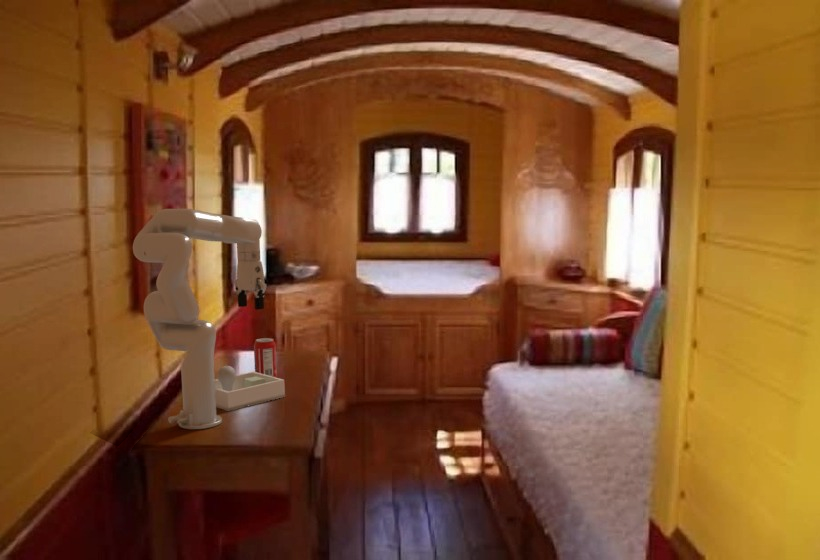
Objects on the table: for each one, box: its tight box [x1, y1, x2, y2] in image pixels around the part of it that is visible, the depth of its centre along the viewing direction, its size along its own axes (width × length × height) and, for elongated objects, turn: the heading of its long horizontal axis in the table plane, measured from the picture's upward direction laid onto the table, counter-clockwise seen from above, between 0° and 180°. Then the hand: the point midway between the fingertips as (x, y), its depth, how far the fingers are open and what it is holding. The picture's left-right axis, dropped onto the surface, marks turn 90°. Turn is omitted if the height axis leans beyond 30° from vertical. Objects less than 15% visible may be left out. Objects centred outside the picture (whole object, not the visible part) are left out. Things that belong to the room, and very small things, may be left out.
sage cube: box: [244, 376, 265, 388], centre depth 267 cm, size 5×5×5 cm
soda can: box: [253, 337, 278, 378], centre depth 289 cm, size 8×8×15 cm
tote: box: [215, 371, 286, 412], centre depth 263 cm, size 22×18×6 cm
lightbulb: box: [216, 365, 237, 391], centre depth 260 cm, size 6×6×11 cm
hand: (250, 307), depth 264 cm, fingers open, 9 cm apart
